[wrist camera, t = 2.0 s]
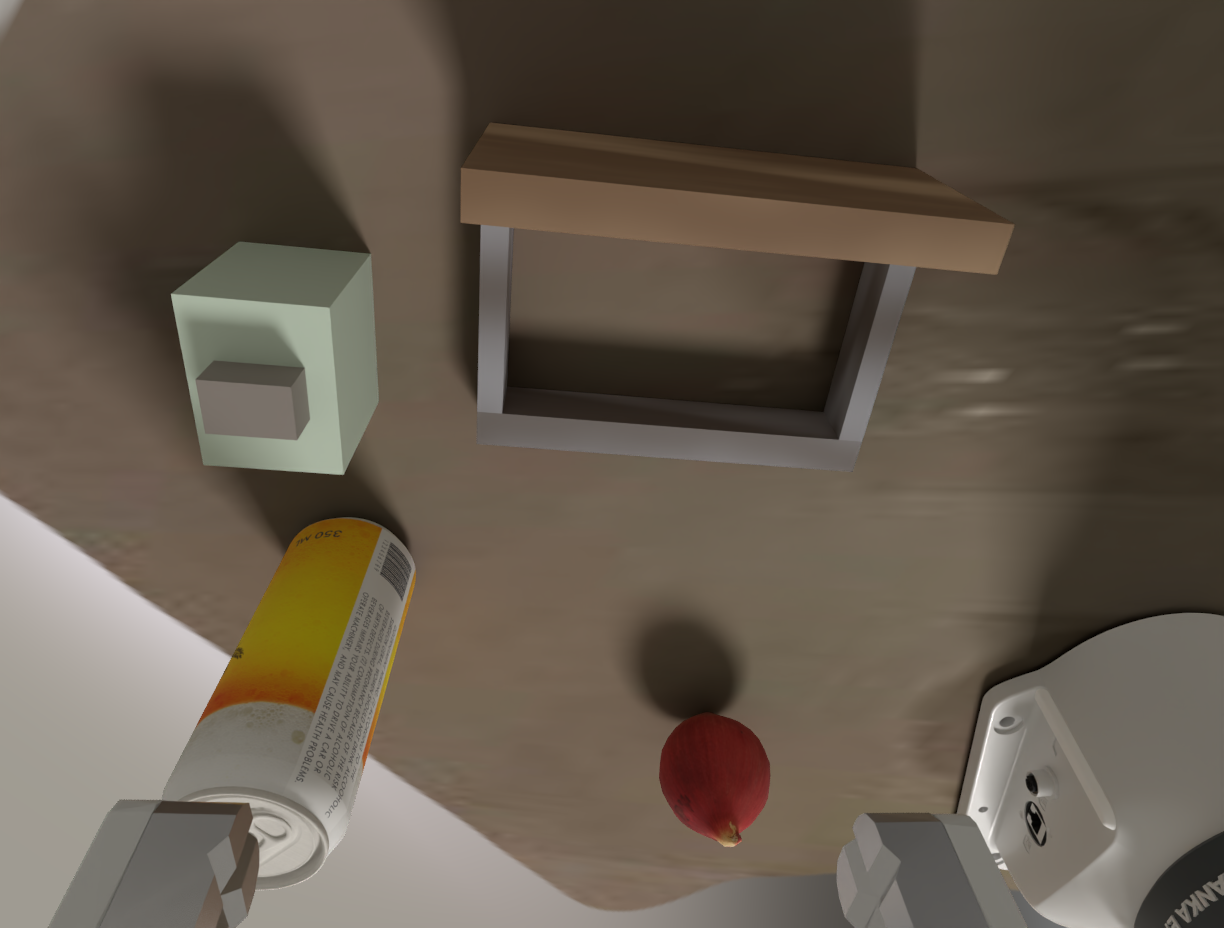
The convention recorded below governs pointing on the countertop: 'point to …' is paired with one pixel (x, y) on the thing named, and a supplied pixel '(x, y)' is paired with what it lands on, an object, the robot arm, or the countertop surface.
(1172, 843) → the robot arm
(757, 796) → the onion
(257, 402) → the cabinet block
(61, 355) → the countertop surface
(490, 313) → the grey and wood frame
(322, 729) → the beer can
